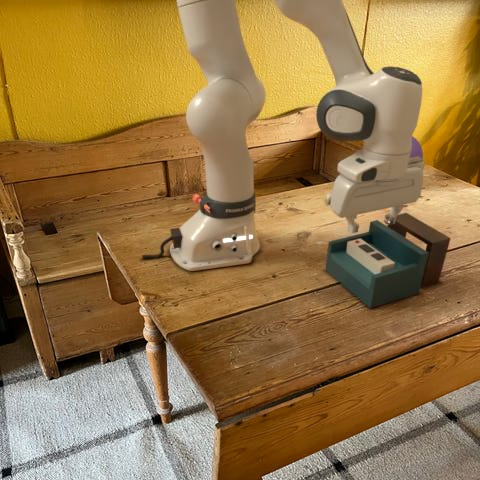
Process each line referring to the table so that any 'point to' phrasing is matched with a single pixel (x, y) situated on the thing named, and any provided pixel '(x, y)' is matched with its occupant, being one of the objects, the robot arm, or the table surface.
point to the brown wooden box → (429, 236)
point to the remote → (369, 256)
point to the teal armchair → (386, 283)
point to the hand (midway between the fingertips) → (371, 227)
